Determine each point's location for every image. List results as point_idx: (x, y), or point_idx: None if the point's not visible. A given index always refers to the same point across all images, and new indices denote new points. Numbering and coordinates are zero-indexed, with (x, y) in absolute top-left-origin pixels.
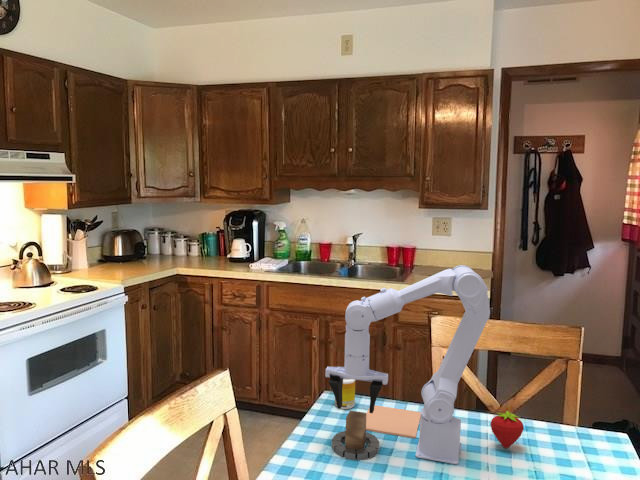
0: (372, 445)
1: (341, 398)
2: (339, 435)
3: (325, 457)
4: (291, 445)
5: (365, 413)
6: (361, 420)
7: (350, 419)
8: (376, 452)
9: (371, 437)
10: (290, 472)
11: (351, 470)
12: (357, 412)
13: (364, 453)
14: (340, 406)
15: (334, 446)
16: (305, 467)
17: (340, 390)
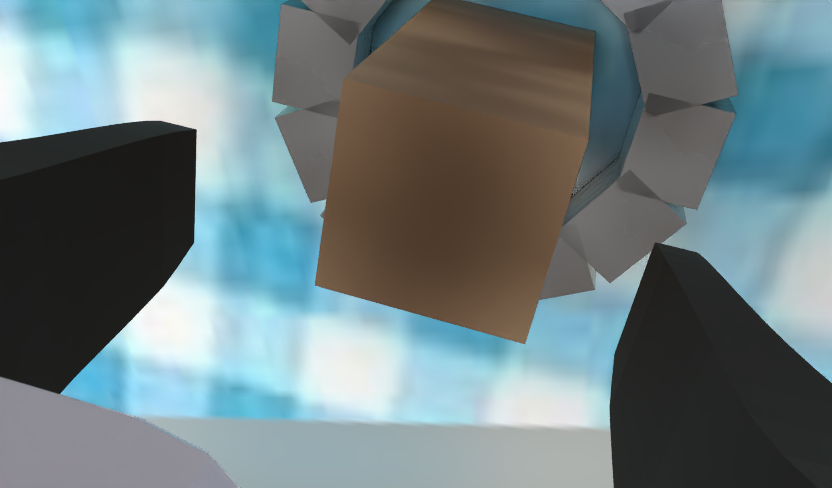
0: (652, 169)
1: (125, 205)
2: (328, 8)
3: (278, 247)
4: (5, 104)
5: (571, 156)
6: (507, 335)
7: (373, 296)
8: (681, 211)
9: (662, 10)
10: (119, 399)
11: (470, 387)
12: (452, 136)
13: (564, 294)
14: (182, 236)
15: (312, 201)
16: (183, 356)
17: (8, 337)
